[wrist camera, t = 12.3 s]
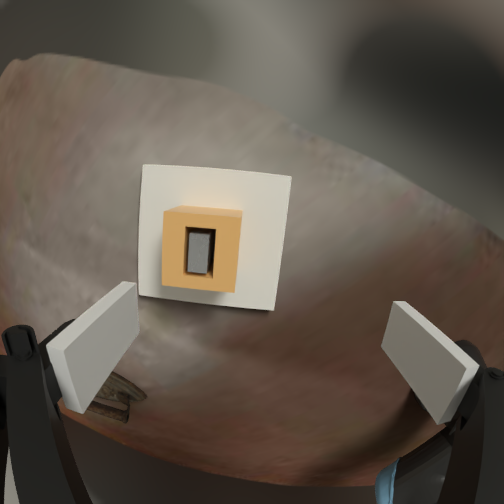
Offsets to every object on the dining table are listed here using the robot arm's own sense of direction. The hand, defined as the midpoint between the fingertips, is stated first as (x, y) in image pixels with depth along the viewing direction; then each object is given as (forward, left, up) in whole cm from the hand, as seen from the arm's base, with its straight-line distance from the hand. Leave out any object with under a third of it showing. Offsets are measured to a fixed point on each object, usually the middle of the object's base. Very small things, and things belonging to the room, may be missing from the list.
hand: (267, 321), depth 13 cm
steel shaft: (0, +5, -20) cm, 20 cm away
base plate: (0, +5, -21) cm, 22 cm away
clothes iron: (-27, +20, -21) cm, 40 cm away
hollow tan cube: (0, +5, -20) cm, 20 cm away
